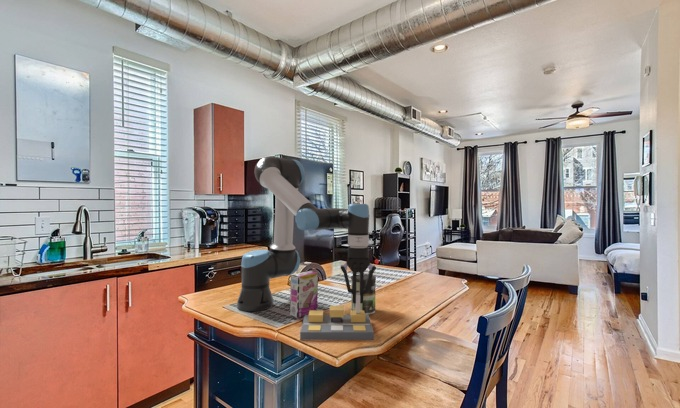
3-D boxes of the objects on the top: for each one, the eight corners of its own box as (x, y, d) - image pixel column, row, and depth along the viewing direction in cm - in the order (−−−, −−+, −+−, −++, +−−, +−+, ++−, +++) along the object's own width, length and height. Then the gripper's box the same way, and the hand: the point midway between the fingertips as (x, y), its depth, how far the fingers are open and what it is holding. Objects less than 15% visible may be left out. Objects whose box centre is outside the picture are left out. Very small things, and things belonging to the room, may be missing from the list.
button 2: (329, 323, 111) (329, 310, 111) (330, 318, 116) (330, 305, 116) (344, 323, 111) (344, 310, 111) (343, 318, 116) (343, 305, 116)
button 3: (351, 328, 111) (351, 315, 111) (350, 323, 116) (350, 310, 116) (365, 328, 111) (365, 315, 111) (364, 323, 116) (364, 310, 116)
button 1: (308, 328, 111) (308, 315, 111) (309, 323, 116) (309, 310, 116) (322, 328, 111) (322, 315, 111) (323, 323, 116) (323, 310, 116)
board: (300, 339, 103) (300, 331, 103) (304, 321, 119) (304, 314, 119) (373, 339, 103) (373, 331, 103) (368, 321, 119) (368, 314, 119)
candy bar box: (298, 319, 121) (298, 276, 121) (289, 316, 124) (289, 274, 124) (318, 311, 130) (318, 271, 130) (309, 309, 133) (309, 270, 133)
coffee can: (376, 307, 135) (376, 274, 135) (374, 316, 125) (374, 280, 125) (352, 305, 138) (353, 273, 137) (348, 314, 127) (348, 279, 127)
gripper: (340, 247, 110) (339, 315, 110) (377, 248, 110) (377, 315, 110) (340, 244, 117) (339, 308, 118) (375, 245, 118) (374, 308, 118)
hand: (357, 311), depth 114 cm, fingers closed
